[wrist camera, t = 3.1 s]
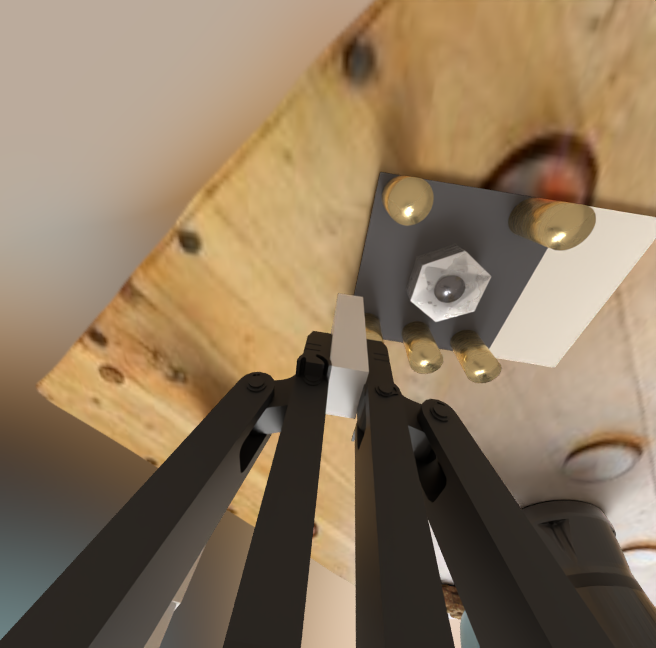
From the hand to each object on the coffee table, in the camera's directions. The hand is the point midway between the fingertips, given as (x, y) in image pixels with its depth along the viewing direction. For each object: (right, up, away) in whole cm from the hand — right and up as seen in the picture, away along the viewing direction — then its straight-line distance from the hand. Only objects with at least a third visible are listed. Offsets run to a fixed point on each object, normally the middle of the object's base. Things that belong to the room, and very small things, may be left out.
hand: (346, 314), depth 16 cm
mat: (+14, +3, +10) cm, 18 cm away
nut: (+10, +4, +9) cm, 14 cm away
